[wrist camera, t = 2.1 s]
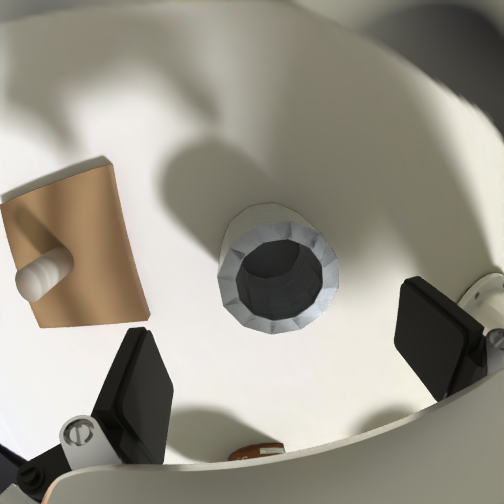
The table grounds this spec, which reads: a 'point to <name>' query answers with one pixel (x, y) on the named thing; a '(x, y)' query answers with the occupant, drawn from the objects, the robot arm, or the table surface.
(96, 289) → the wooden peg base
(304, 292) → the sleeve
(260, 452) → the food container
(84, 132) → the table surface
